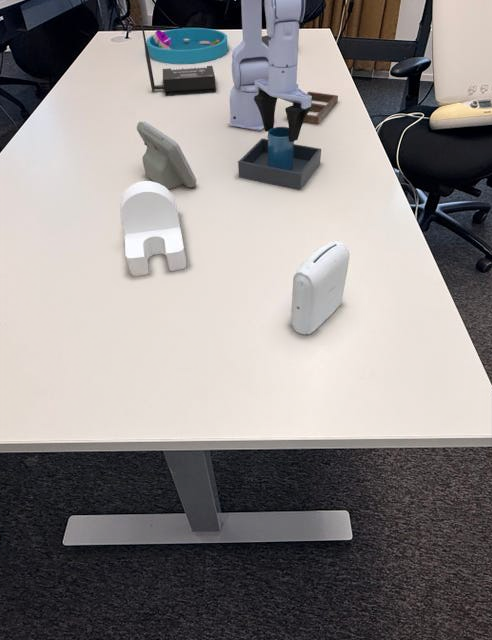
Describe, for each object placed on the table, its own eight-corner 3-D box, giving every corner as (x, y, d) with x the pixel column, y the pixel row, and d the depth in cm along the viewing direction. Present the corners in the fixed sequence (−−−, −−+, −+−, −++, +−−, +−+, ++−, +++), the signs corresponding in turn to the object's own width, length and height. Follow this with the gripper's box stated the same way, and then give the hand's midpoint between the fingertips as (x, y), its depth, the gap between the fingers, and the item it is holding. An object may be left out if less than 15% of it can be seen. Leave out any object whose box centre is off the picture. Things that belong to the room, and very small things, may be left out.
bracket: (187, 268, 78) (177, 211, 69) (130, 276, 77) (113, 219, 68) (177, 213, 90) (168, 158, 82) (128, 219, 89) (113, 164, 80)
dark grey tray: (238, 177, 100) (238, 161, 97) (261, 153, 107) (261, 138, 105) (300, 190, 96) (301, 174, 93) (320, 164, 103) (321, 148, 100)
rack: (286, 119, 121) (287, 112, 119) (308, 98, 131) (308, 91, 129) (318, 124, 118) (318, 117, 117) (337, 102, 128) (338, 95, 127)
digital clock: (199, 189, 96) (193, 140, 88) (161, 199, 94) (151, 149, 86) (176, 159, 106) (168, 112, 98) (140, 168, 104) (129, 120, 95)
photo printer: (308, 339, 66) (315, 276, 57) (286, 327, 68) (289, 263, 59) (344, 304, 71) (357, 240, 62) (323, 293, 73) (331, 229, 64)
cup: (262, 167, 101) (262, 132, 95) (280, 159, 104) (281, 124, 98) (280, 176, 98) (281, 140, 92) (297, 167, 101) (299, 132, 95)
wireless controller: (212, 77, 144) (207, 12, 131) (216, 92, 135) (211, 24, 122) (152, 81, 143) (141, 16, 129) (152, 96, 134) (139, 28, 121)
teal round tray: (161, 39, 175) (158, 21, 170) (234, 40, 172) (233, 22, 167) (138, 62, 156) (134, 43, 151) (219, 64, 153) (218, 44, 148)
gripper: (324, 66, 83) (317, 139, 94) (271, 51, 90) (270, 120, 101) (299, 75, 80) (295, 149, 91) (246, 58, 87) (248, 129, 98)
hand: (281, 135), depth 95 cm, fingers open, 7 cm apart
